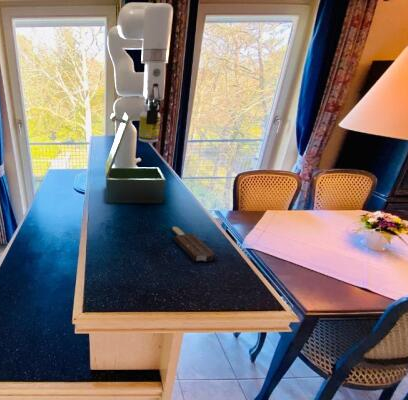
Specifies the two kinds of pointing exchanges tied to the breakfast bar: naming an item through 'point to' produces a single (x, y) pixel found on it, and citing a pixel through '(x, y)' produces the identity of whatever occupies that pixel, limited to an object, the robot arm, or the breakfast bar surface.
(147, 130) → the pill bottle
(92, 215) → the breakfast bar surface
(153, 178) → the bin
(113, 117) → the bin lid
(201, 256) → the ice cream bar
